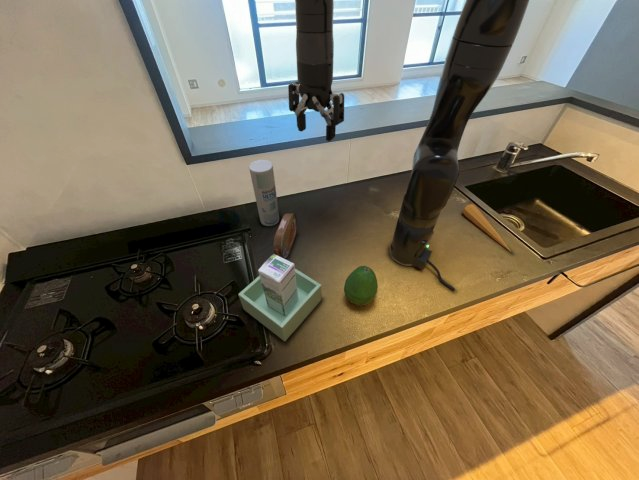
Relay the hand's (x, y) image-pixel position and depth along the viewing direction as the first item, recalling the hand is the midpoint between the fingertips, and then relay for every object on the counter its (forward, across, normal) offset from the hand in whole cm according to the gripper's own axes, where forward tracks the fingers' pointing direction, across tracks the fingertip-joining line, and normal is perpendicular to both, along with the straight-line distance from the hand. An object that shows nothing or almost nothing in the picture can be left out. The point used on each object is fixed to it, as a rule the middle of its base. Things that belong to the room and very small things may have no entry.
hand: (315, 134), depth 68 cm
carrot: (+30, +44, +30) cm, 61 cm away
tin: (+30, -2, -12) cm, 33 cm away
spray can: (+30, -14, -7) cm, 34 cm away
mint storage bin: (+30, +11, -28) cm, 43 cm away
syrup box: (+30, +11, -28) cm, 42 cm away
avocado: (+30, +25, -15) cm, 42 cm away
